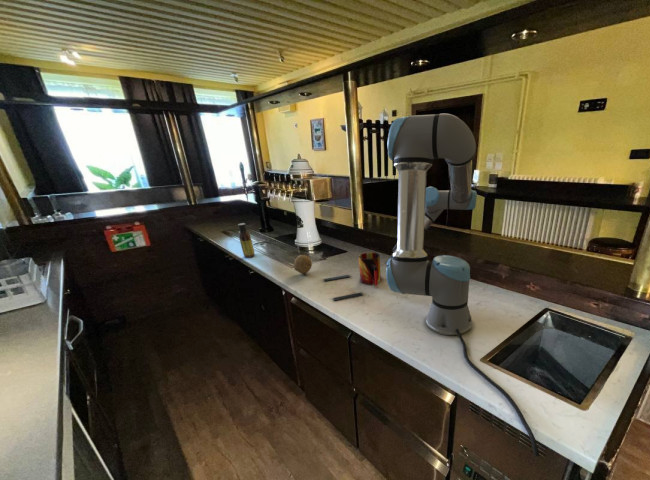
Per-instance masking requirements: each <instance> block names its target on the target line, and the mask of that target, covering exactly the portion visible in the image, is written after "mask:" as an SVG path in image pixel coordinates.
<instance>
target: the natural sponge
mask: <svg viewBox="0 0 650 480" xmlns="http://www.w3.org/2000/svg"><path fill="white" fill-rule="evenodd" d="M312 266H313V262H312V260H311V258H310V257H309V256H308V255H306V254H300V255H298V256H297V257H296V258H295V259H294V262H293V269H294V271H296V272H298V273H300V274H301V275H305V274H307V273H309V271H310V270H311V269H312Z"/></svg>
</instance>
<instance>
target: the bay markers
mask: <svg viewBox="0 0 650 480" xmlns="http://www.w3.org/2000/svg"><path fill="white" fill-rule="evenodd" d="M350 277H351V276H350V274H345V275H339V276H333V277H328V278H324V279H323V280H324V282H330V281H331V282H332V281H337V280H342V279H349V278H350ZM362 296H363V293H362V292H356V293H351V294H345V295H342V296H337V297H333V301H334V302H338V301H342V300H347V299H352V298H358V297H362Z"/></svg>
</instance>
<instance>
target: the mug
mask: <svg viewBox="0 0 650 480" xmlns="http://www.w3.org/2000/svg"><path fill="white" fill-rule="evenodd" d="M357 258H358V266H359V267H358V269H359V280H360V283H361V284H364V285H374V286H376V287H378V286H379V283H380V282H381V280H382V274H381V273H382V272H381V256H380V254H379V253H377V252H363V253H360V254H359V255H358V257H357Z"/></svg>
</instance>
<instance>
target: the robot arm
mask: <svg viewBox="0 0 650 480" xmlns="http://www.w3.org/2000/svg"><path fill="white" fill-rule="evenodd" d="M476 148H477V144H476V139H475V136H474V133H473V132H472V130H471V129H470V127H469V126H468V125H467V124H466V122H465V121H464V120H462V119H460V118H459V117H458V116H456V115H454V114H451V113H438V114H437V113H436V114H435V113H434V114H421V115H420V114H417V115H407V116H401V117H397V118H395V119H394V120H393V121H392V123H391V125H390V127H389V132H388V137H387V155H388V158H389V159H390V161H392V162H393V167H394V168H395V169H396V170H397V171H398V184H397V186H398V190H397V191H398V192H397V195H398V196H397V230H396V231H397V232H396V234H397V235H396V239H397V240H396V241H397V242H396V243H395V245H394V247H393V248H392V252H393V253H391V255H390V256H389V257H388V259H387V260H386V261H385V262H384V265H386V268H385V277H386V283H387V285H388V288H389V289H390V291H391V292H393V293H397V294H401V295H413V296H423V297H424V296H425V297H431V303H429V310H428V313H427V314H426V319H425V323H426V327H427V328H428V329H430V330H431V331H432V332H434V333H436V334H438V335H443V336H458V338H459V340H460V342H461V345H462V350H463V351H462V352H463V356H464V358H465V361H466V362H467V364H468V366H470V367H471V369H473V370H474V371H475V372H476V373H477V374H479V375H480V376H481V377H482V378H483V379H485V380H486V382H488V383H489V384H490V385H491V386H493V387H494V388H495V389H496V390H497V391H499V392H500V393H501V394H502V395H503V397H505V398H506V400H507V401H508V402H509V403H510V405H511V406H512V407H513V409H514V410H515V412H516V414H517V415H518V416H517V417H518V418H519V419H520V421H521V423H522V425H523V427H524V429H525V430H526V433H527V434H528V437H529V439H530V442H531V445H532V446H531V447H532V451H533V454H534V456H536V457H540V450H539V447H538V443H537V439H536V437H535V435H534V433H533V431H532V429H531V427H530V426H529V424H528V422H527V420H526V418H525V417H524V415H523V412H522V411H521V409H520V407H519V406H518V405H517V403H516V402H515V400H514V399H513V398H512V397H511V396H510V394H509V393H508V392H507V391H506V390H505V389H504V388H502V387H501V386H500V385H499V384H498V383H496V381H494V380H492V379H491V378H490V377H489V376H488V375H487V374H485V372H484V371H482V370H481V369H480V368H478V367H477V366H476V365H475V364H474V363H473V362H472V361H471V360H470V358H469V355H468V351H467V350H468V348H467V345H466V342H465V340H464V338H463V336H462V335H463V334H466V333H467V332H469V331H470V330H471V328H472V323H473V320H472V316H471V312H470V309H469V303H468V302H469V292H470V281H471V266H470V263H468V262H467V261H466V260H465V259H463V258H460V257H458V256H454V255H447V254H443V255H436V256H434V257H433V259H432V260H428V257H429V256H428V253H427V252H426V251H425V250H424V240H425V233H426V232H427V230H428V229H430V228H431V226H432V224H434V222H435V221H436V220H437V219H438V217H439V216H440V215H441V214H442V212H443V211H444V210H461V211H462V210H463V211H464V210H465V211H468V210H475V208H476V207H477V206H476V205H477V195H478V193H477V191H476V190H473V188H472V184H473V183H472V179H473V177H472V176H473V159H475V156H476V153H477V152H476V151H477V149H476ZM436 159H438V160H439V159H444V161H445V163H446V164H447V165H448V175H449V182H450V189H449V190H438V188H436V187H434V186H428V187H427V175H428V174H427V173H428V171H429V170H430V169H431V168H432V166H433V160H436Z"/></svg>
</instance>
